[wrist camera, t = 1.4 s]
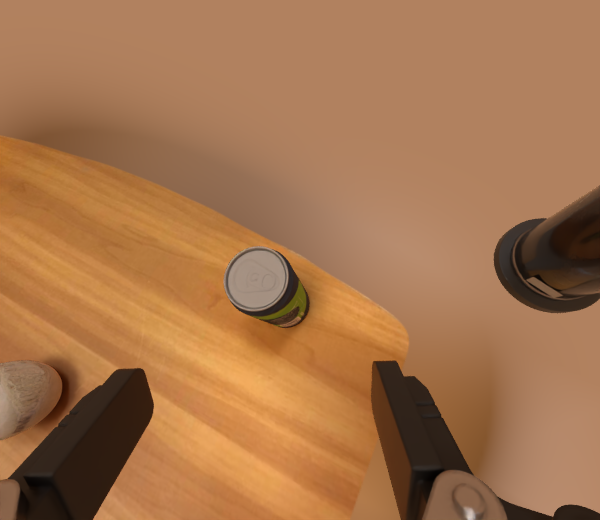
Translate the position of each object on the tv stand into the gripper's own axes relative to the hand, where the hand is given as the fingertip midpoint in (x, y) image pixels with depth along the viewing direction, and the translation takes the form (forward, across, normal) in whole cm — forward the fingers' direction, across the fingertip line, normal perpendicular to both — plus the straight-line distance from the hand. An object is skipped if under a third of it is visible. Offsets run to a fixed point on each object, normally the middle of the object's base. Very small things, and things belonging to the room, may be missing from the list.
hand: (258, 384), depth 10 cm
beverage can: (+26, +1, +11) cm, 29 cm away
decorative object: (+23, +35, +22) cm, 47 cm away
